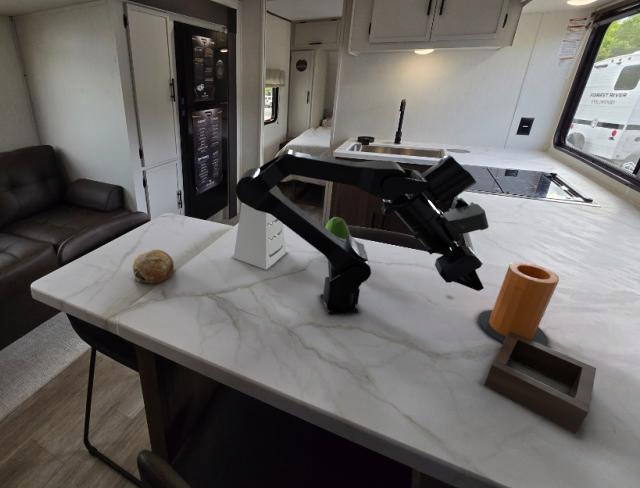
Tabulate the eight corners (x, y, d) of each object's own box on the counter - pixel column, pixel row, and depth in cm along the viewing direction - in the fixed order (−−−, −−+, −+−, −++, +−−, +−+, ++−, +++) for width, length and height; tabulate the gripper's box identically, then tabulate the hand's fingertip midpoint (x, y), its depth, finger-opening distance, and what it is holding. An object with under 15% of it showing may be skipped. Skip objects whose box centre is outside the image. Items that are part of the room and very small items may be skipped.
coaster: (507, 353, 62) (508, 351, 61) (465, 313, 72) (465, 311, 71) (563, 348, 62) (564, 346, 62) (513, 310, 72) (514, 308, 72)
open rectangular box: (575, 434, 48) (588, 412, 46) (483, 384, 55) (491, 364, 54) (584, 388, 55) (596, 368, 53) (501, 349, 62) (509, 330, 60)
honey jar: (522, 346, 62) (548, 287, 57) (481, 323, 68) (501, 268, 63) (540, 332, 66) (566, 275, 60) (500, 312, 71) (520, 258, 66)
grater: (254, 243, 101) (255, 178, 93) (285, 253, 95) (289, 185, 87) (233, 257, 93) (232, 188, 85) (266, 269, 88) (268, 196, 79)
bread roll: (132, 287, 87) (119, 269, 81) (152, 255, 93) (140, 236, 87) (165, 295, 83) (153, 278, 78) (183, 262, 89) (174, 243, 84)
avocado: (316, 261, 91) (320, 220, 86) (321, 248, 97) (325, 209, 93) (347, 267, 88) (353, 225, 83) (350, 253, 95) (356, 213, 90)
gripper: (484, 210, 51) (543, 281, 53) (447, 176, 68) (494, 231, 70) (416, 249, 56) (473, 314, 58) (398, 208, 73) (442, 259, 75)
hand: (471, 275), depth 65 cm, fingers open, 9 cm apart
